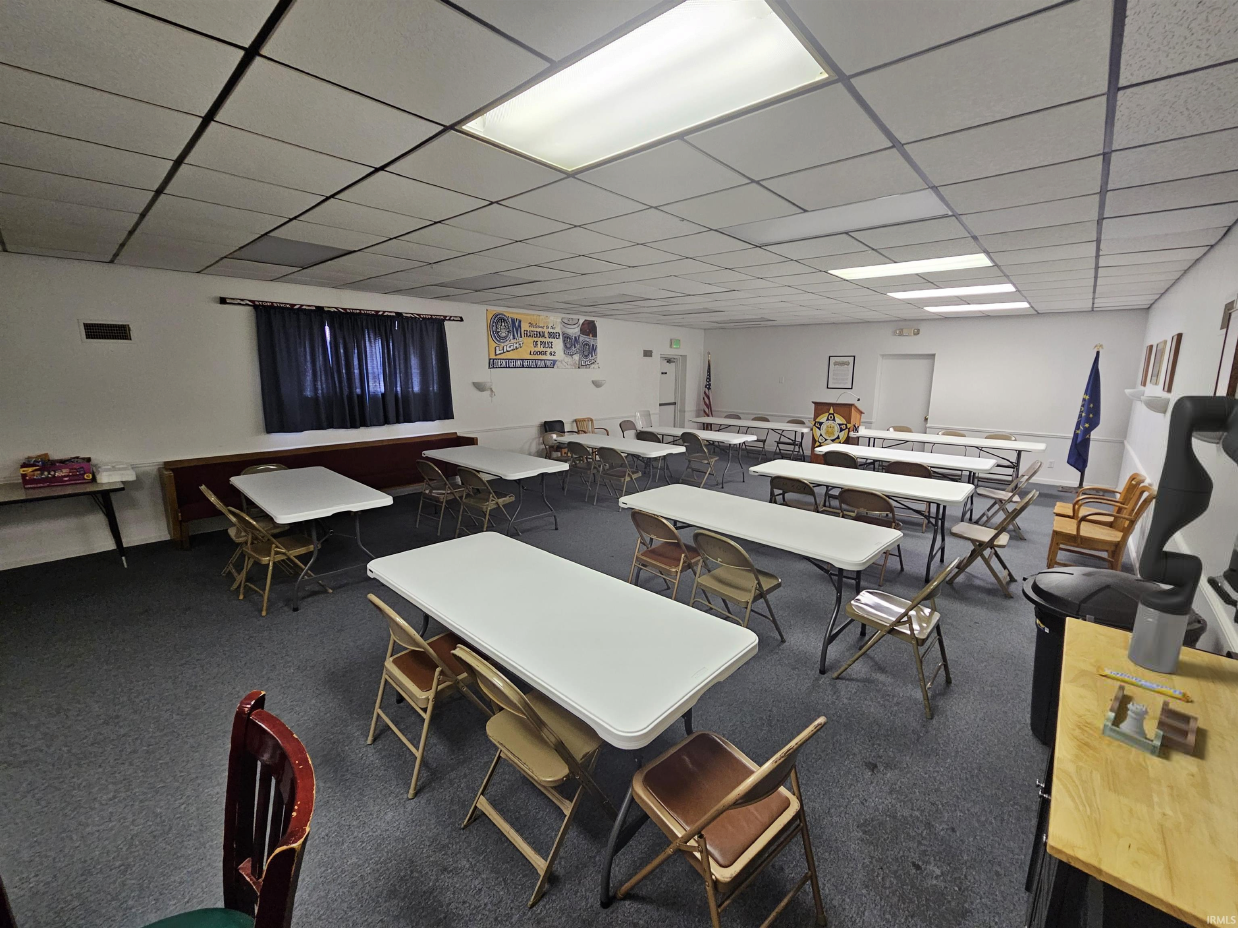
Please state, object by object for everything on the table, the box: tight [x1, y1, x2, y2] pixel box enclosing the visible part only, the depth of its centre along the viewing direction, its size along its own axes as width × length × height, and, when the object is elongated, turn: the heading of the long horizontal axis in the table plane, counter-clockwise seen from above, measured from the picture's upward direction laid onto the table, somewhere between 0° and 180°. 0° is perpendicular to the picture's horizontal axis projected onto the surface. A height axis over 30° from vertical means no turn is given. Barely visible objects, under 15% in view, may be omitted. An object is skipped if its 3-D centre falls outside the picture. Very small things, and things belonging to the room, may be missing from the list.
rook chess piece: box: [1118, 701, 1150, 740], centre depth 107 cm, size 4×4×8 cm
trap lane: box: [1101, 684, 1199, 758], centre depth 110 cm, size 23×13×2 cm, turn 128°
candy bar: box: [1096, 665, 1192, 702], centre depth 125 cm, size 17×4×2 cm, turn 45°
